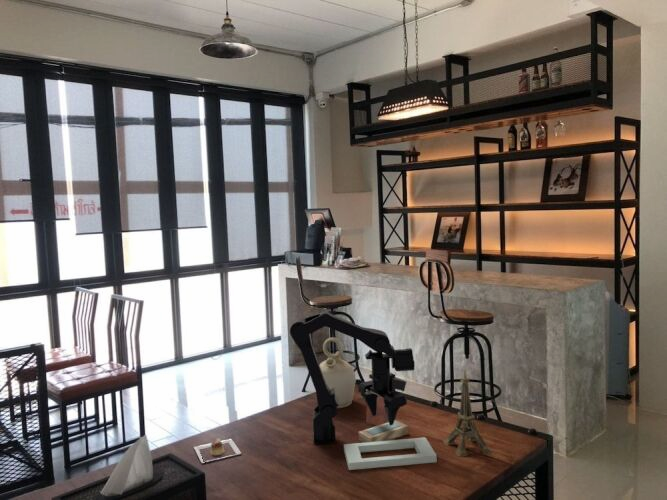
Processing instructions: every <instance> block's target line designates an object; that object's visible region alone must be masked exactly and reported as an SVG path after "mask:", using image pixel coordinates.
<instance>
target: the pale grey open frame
mask: <svg viewBox="0 0 667 500" xmlns="http://www.w3.org/2000/svg"><path fill="white" fill-rule="evenodd" d="M404 449H415V452H416V453H411V454H410V453H409V454H398V455H397V454H396V455H387V456H377V457H376V456H375V457H365V458H363V457H362V455H361V453H370V452H371V453H372V452H380V451H381V452H383V451H394V450H404ZM343 453H344V457H345V459H346V464H347V467H348V470H349V471H353V470H367V469H374V468H388V467H398V466H399V467H400V466H409V465H419V464H430V463H432V464H433V463H437V462H438V461H437V459H438V457H437V456H438V455H437V453H436V451H435V450H434V448H432V446H431V444H430V442H429V441H428V439H427V438H426V437H416V438H414V437H413V438H403V439H391V440H388V441H378V442H366V443H363V442H354V443H346V444H344V443H343Z"/></svg>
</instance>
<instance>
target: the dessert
mask: <svg viewBox="0 0 667 500" xmlns="http://www.w3.org/2000/svg"><path fill="white" fill-rule="evenodd" d="M224 444H229V445H230V447H231V448H232V450H233V451H234V452H235V454H231V455H227V456H223V457H219V458H214V459H209V460H206V461H205V460H204V461H205V462H206V463H209V462H210V461H211V462H213V461H214V460H215V461H218V460H222V459H227V458H231V457H235V456H238V455H242V452H241V451H240V449H239V447H238V446H237V445H236V443H235V442H234V439H232V438H227V439H223V440H221V439H220V438H218V437H217V438H216V439H215V441H213V442H211V443H206V444H201V445H196V446H193V448H194V451H195V453H196V455H197V457H198V458H199V461H200V463H201V464H206V463H205V462H203V459H204V458H203V459H202V457H203V455H202V454H200V453H201V451H200V450H203V449H207V448H210V450H209V454H210V455H211V456H220V455H223V454H224V453H225V449H224ZM201 455H202V456H201Z"/></svg>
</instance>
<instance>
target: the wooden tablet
mask: <svg viewBox="0 0 667 500" xmlns="http://www.w3.org/2000/svg"><path fill="white" fill-rule="evenodd" d="M384 405H385V403H384V398H383V397H381V396H380V397H377V411H376V415H375V416H373V415H372V413H371V411H370V409H369V407H368V406H367V405H366V419H365V420H366V425H367V426H368V425H369V427H375V426H374V425H376V426H379V425H382V424H385V423H388V419H387V415H386V412H385V408H384ZM395 420H397V418H396V417H395Z"/></svg>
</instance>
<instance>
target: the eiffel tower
mask: <svg viewBox="0 0 667 500" xmlns="http://www.w3.org/2000/svg"><path fill="white" fill-rule="evenodd" d="M463 372H464V374H463V375H464V376H463V377H461V378H460V380H459V381H460V382H461V383H462V385H461V395H460V396H461V397H460V406H459V407H460V408H459V411H458V412H457V416H458V419H457V423H456V424H455V425H454V429H453V430H452V431H451V433H450V434H449V435H448V436H447V437H446V439H444V440H443V441H442V443H443V444H444V445H445V446H452V445H456V442H455V441H456V440H457V438H460V441H459V444H458V446H457V448H456V450H455V451H454V454H455V455H456V456H457V457H459V458H460V457H461V458H462V457H466V456H468V453H467V446H466V443H467V442H466V441H467V440H468V441H469V442H477V444H478V449H479V450H480V451H481V452H482V453H489V452H490V453H491V452H493V450H492V449H491V448H489V446H488V444H487V443H486V441H485V440H484V438H483V437H482V436H481V435H480V433H479V429H477V427H476V424H475V420H474V419H475V415H474V414H473V412H472V411H473V410H472V405H471V404H472V403H471V398H470V390H469V383H470V382H471V381H470V379H469V377H466V376H467V375H466V374H467V373H466V370H464V371H463Z"/></svg>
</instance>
